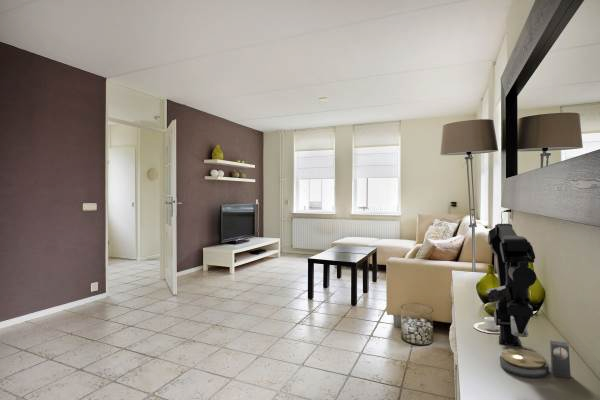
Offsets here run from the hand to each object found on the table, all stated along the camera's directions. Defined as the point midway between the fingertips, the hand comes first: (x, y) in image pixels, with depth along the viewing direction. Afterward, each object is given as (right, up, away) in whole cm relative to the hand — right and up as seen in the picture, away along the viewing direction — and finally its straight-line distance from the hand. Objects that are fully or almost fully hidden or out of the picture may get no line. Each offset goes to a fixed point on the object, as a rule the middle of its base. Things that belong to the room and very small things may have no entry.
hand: (520, 330), depth 105 cm
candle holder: (+9, -12, +32) cm, 35 cm away
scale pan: (+1, -9, 0) cm, 9 cm away
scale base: (+3, -11, -2) cm, 11 cm away
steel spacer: (0, -1, 0) cm, 1 cm away
